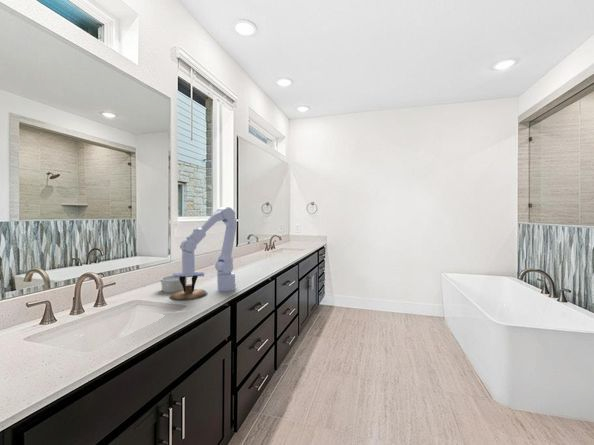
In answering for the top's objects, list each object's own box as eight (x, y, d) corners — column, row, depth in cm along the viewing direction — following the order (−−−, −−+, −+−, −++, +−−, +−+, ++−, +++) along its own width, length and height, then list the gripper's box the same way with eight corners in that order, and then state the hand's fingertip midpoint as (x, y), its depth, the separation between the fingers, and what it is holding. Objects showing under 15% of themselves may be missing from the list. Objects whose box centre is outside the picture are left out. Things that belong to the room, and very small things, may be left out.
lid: (207, 289, 150) (206, 280, 150) (204, 297, 135) (204, 287, 134) (174, 291, 146) (174, 282, 146) (168, 300, 131) (168, 290, 131)
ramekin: (181, 294, 145) (181, 280, 145) (155, 294, 145) (155, 280, 145) (191, 287, 158) (191, 275, 158) (168, 287, 159) (167, 275, 158)
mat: (209, 290, 151) (208, 289, 151) (206, 300, 134) (206, 299, 134) (172, 292, 147) (172, 291, 147) (165, 303, 129) (165, 302, 129)
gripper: (171, 266, 134) (171, 294, 135) (203, 264, 138) (203, 292, 138) (173, 263, 141) (174, 291, 142) (204, 262, 145) (204, 289, 145)
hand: (188, 291), depth 140 cm, fingers closed on lid, 3 cm apart
